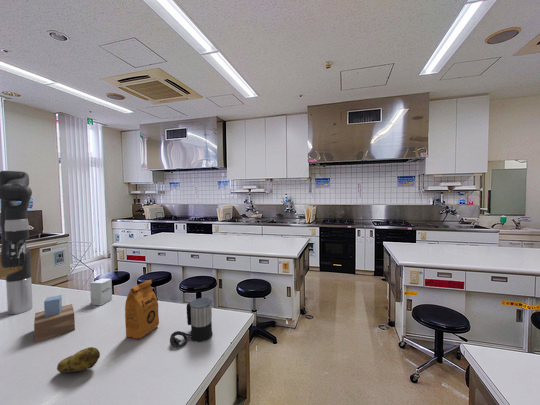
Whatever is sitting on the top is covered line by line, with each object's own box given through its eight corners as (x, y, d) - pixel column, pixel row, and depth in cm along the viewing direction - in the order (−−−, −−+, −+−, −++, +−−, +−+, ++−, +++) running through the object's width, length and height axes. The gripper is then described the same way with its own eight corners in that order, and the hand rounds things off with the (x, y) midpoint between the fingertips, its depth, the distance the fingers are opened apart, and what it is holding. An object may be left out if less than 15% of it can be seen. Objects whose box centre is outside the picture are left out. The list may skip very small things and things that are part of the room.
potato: (80, 359, 88) (79, 338, 88) (105, 367, 84) (104, 345, 84) (53, 375, 80) (52, 352, 80) (79, 385, 76) (78, 360, 76)
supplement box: (101, 305, 132) (100, 283, 131) (90, 304, 133) (89, 282, 133) (112, 299, 139) (112, 278, 139) (102, 299, 140) (101, 278, 140)
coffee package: (162, 326, 110) (161, 279, 109) (139, 342, 98) (138, 290, 97) (146, 322, 113) (145, 277, 112) (122, 337, 101) (120, 287, 101)
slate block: (47, 312, 109) (47, 297, 108) (61, 309, 111) (61, 295, 111) (44, 317, 104) (44, 301, 104) (59, 314, 107) (59, 298, 107)
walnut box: (36, 330, 109) (35, 313, 108) (72, 319, 117) (72, 303, 117) (34, 342, 99) (34, 324, 99) (74, 330, 108) (74, 313, 108)
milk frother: (217, 332, 105) (216, 299, 104) (194, 355, 90) (193, 316, 89) (190, 326, 109) (189, 295, 109) (164, 347, 95) (163, 310, 94)
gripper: (10, 228, 112) (12, 262, 112) (-1, 232, 100) (0, 269, 100) (32, 227, 116) (34, 259, 116) (24, 230, 104) (25, 266, 105)
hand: (18, 264), depth 108 cm, fingers open, 8 cm apart
